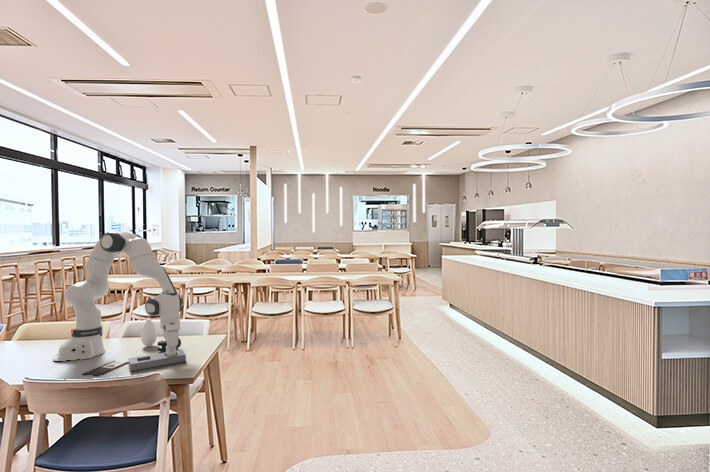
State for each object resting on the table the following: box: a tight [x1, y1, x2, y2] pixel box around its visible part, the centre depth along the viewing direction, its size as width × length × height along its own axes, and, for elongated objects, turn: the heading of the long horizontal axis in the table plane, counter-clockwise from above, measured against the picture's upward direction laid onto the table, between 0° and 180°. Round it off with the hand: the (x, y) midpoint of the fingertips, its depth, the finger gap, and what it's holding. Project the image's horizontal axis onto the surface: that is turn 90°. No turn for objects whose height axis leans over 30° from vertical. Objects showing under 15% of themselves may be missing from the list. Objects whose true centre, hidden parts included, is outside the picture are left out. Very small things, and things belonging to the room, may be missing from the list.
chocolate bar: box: [81, 360, 129, 377], centre depth 188 cm, size 9×1×18 cm
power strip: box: [128, 349, 187, 374], centre depth 193 cm, size 24×10×4 cm, turn 124°
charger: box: [166, 346, 177, 357], centre depth 196 cm, size 4×4×7 cm
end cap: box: [157, 337, 182, 354], centre depth 213 cm, size 10×7×7 cm
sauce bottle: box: [140, 314, 158, 348], centre depth 223 cm, size 8×8×18 cm
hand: (170, 351), depth 196 cm, fingers open, 8 cm apart
